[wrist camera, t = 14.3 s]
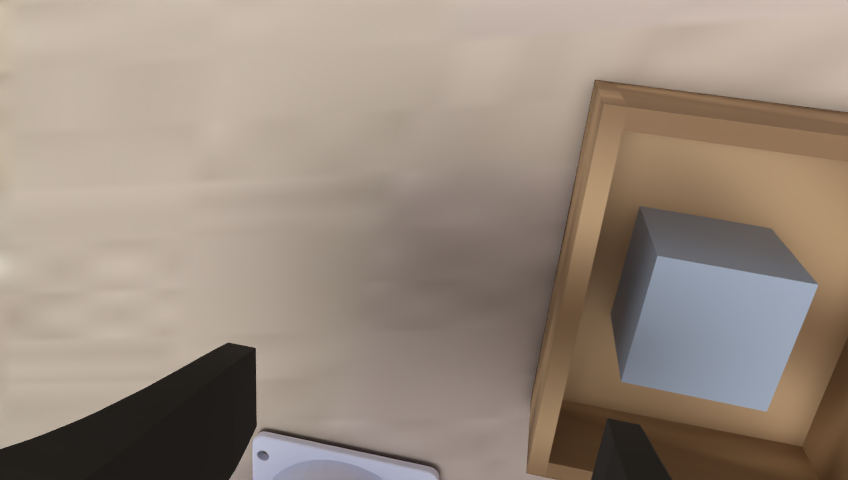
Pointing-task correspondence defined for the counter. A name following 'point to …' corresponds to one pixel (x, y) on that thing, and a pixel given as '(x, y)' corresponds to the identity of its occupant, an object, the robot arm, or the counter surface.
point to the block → (708, 308)
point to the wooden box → (714, 198)
